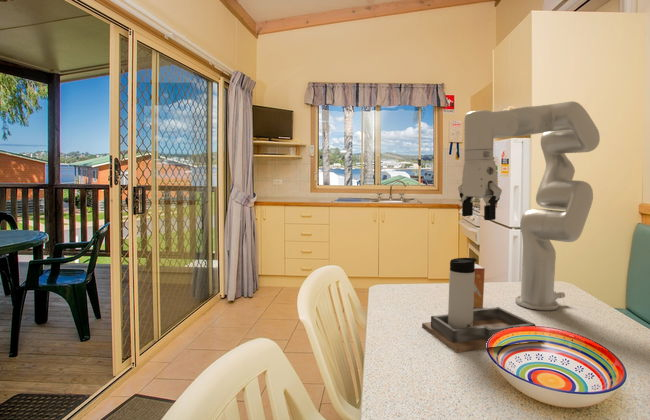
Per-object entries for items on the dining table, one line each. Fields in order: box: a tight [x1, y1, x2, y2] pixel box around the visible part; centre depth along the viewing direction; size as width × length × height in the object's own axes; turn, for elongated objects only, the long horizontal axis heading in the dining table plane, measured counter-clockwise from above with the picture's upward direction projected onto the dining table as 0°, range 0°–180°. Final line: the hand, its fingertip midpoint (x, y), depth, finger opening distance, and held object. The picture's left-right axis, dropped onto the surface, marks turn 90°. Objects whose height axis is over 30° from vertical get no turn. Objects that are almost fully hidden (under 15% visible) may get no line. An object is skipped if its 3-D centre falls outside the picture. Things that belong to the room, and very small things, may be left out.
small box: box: [473, 263, 486, 308], centre depth 131 cm, size 8×6×13 cm
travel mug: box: [447, 257, 478, 329], centre depth 104 cm, size 6×7×20 cm
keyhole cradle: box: [421, 306, 536, 353], centre depth 107 cm, size 25×17×4 cm
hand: (478, 217), depth 112 cm, fingers open, 9 cm apart
